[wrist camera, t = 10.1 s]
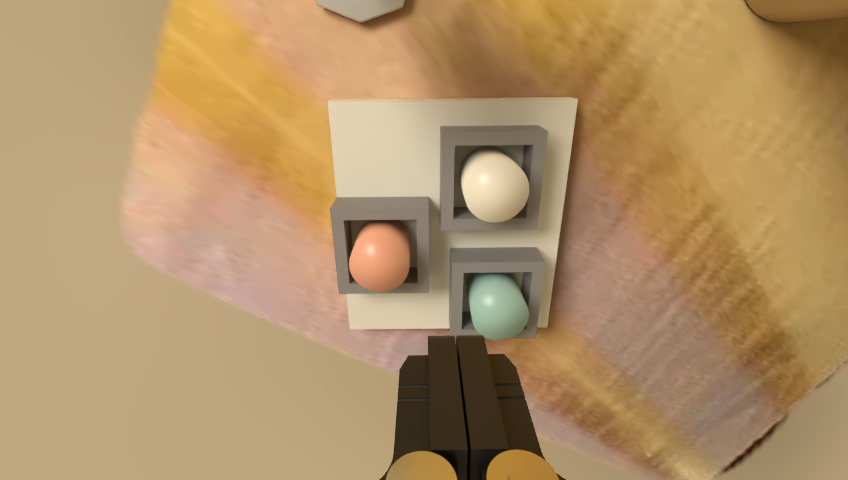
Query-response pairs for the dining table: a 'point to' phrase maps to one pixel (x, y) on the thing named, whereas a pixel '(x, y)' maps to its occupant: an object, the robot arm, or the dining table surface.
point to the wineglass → (361, 8)
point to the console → (447, 202)
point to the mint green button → (496, 305)
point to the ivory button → (493, 184)
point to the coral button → (381, 255)
